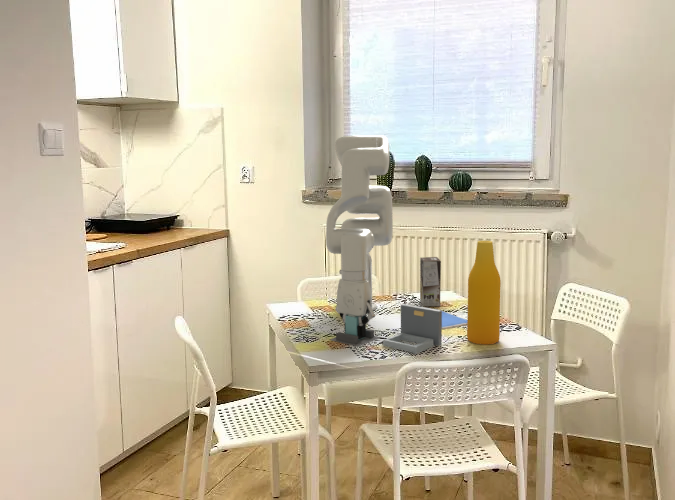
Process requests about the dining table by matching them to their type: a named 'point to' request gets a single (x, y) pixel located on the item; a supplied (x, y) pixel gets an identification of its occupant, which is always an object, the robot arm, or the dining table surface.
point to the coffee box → (430, 281)
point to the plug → (351, 324)
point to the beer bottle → (484, 297)
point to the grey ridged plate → (355, 338)
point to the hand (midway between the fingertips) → (355, 335)
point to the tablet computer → (452, 321)
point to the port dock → (417, 329)
